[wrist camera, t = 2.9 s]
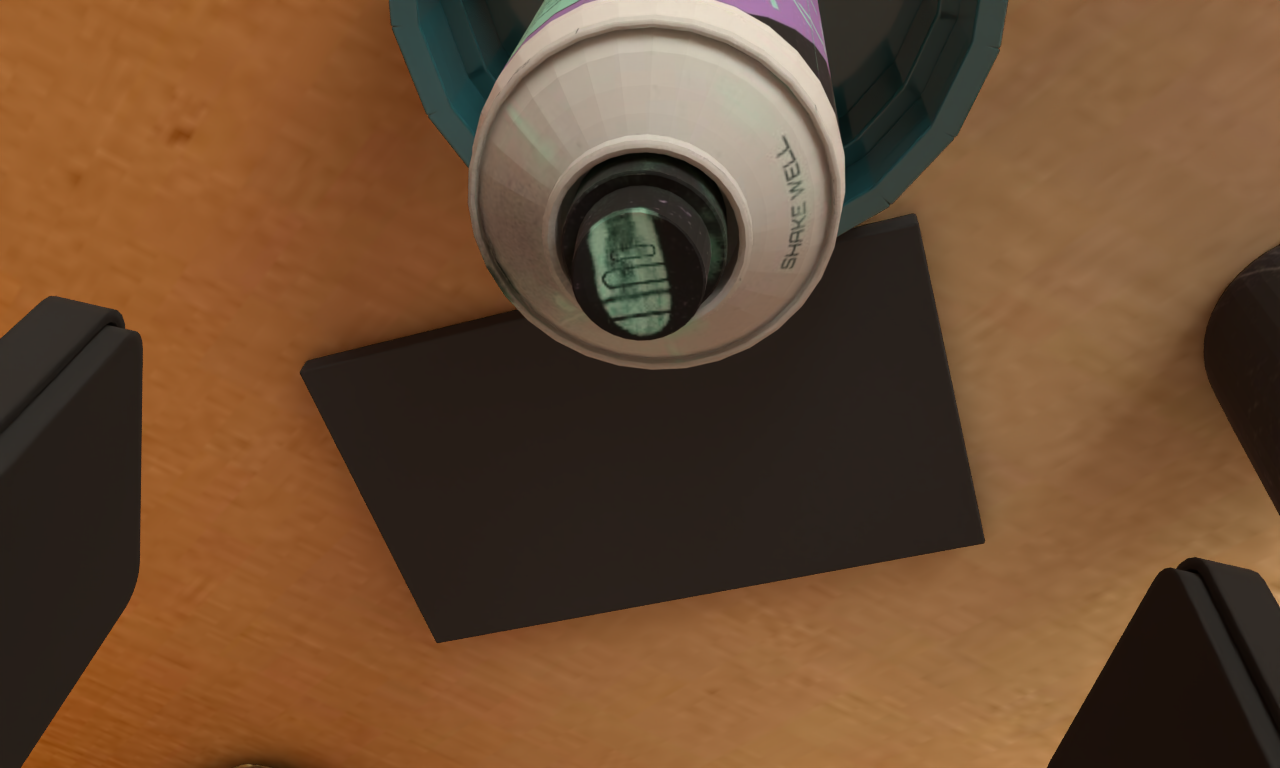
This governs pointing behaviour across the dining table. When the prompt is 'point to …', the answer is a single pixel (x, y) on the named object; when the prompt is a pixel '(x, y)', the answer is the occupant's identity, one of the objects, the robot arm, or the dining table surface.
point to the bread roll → (251, 766)
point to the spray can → (660, 175)
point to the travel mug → (1250, 364)
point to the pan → (857, 56)
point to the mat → (658, 453)
